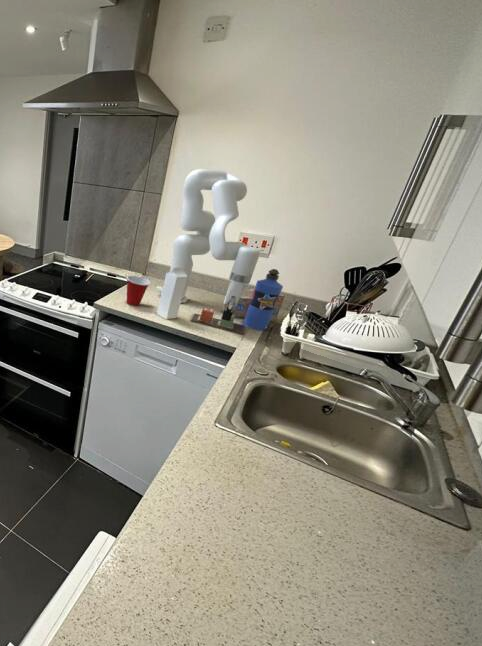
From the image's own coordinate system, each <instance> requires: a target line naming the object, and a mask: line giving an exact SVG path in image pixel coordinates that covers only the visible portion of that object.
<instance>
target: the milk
mask: <svg viewBox="0 0 482 646" xmlns="http://www.w3.org/2000/svg"><path fill="white" fill-rule="evenodd" d="M183 270H184V267H175V268H173V271H171V272H170V271H169V272H166V274H165V278H164V282H163V286H162V288H163V290H162V292H161V293H162V294H161V293H160V295H161V296H160V298H159V302H158V307H157V311H156V315H158V316H159V317H162V318H163V319H165V320H170V319H177V318H178V314H179V310H180V306H181V304H182V303H181V299H182V295H183V292H184V288H185V284H186V280H187V275H186V274H185V272H184V271H183Z"/></svg>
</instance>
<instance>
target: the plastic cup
mask: <svg viewBox="0 0 482 646" xmlns="http://www.w3.org/2000/svg"><path fill="white" fill-rule="evenodd" d="M151 284H152V282H151V281H150V280H149V279H147V278H145V277H142V276H139V275H127V276H126V304H128V305H129V306H132V307H133V306H134V307H135V306H136V307H138V306H140V304H141V302H142V299H143V298H144V295H145V293H146V290H147V289H148V287H149V286H150V285H151Z"/></svg>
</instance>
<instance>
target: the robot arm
mask: <svg viewBox="0 0 482 646" xmlns="http://www.w3.org/2000/svg"><path fill="white" fill-rule="evenodd" d="M247 187H248V186H247V185H246V183H245V182H244V181H243V180H242V179H240V178H238V177H237V176H235V175H233V174H231V172H228V171H226V170H223V169H222V170H221V169H211V168H197V169H195V170H193V171H191V172H190V173H189V174H188V175H187V176H186V178H185V180H184V183H183V201H182V208H181V216H180V228H181V229H182V230H183V231H185V232H196V233H189V234H187V233H186V234H181V235H178V236H177V237H176V238H175V240H174V242H173V251H172V252H173V253H172V260H171V263H170V269H169V272H171V271H173V268H175V267H184V270H183V271H184V272H185V274H186V275H187V280H186V284H185V288H184V292H183V295H182V299H181V303H180V304H183V303H187V302H188V297H187V296H186V294H187V290H188V285H189V282H190V278H191V275H192V271H193V267H194V261H193V258H192V256H203V255H206V254H208V253H209V252H210V253H211V255H212V257H213V258H214V259H215V260H217V261H234V263H233V264H232V265H233V266H232V268H231V271H230V273H229V277H228V280H229V281H230V282H229V284H228V288H227V290H226V294H225V296H224V299H223V305H224V304H226V306H225V309H224V312H223V313H222V315H221V319H223V320H227V321H230V319H231V316H232V314H233V309H234V307H236V306H237V304H238V301H239V299H240V297H241V294H243V292H244V289H245V287H246V285H249V284H250V282H251V280H252V277H253V275H254V272H255V269H256V266H257V263H258V261H259V258H260V254H261V250H260V249H258V248H257V247H253V246H249V245H248V244H246V243H244V242H242V241H227V240H226V233H225V232H226V228H227V226H228V224H230V223H231V222H233V221H235V220H236V219H238V218H239V216H240V214H239V213H240V212H239V206H238V202H241V201H242V200H243V199H245V197H246V195H247V193H248V188H247ZM203 190H204V191H211V196H212V197H211V198H212V203H213V204H212V206H213V210H214V213H213V212H212V211H210V210H204V202H205V201H204V196H203V193H202V191H203ZM162 290H163V287H161V286H158V285H157V286H156V287H155V291H157V292H160V297H161V294H162ZM233 304H234V305H233Z"/></svg>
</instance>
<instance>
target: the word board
mask: <svg viewBox="0 0 482 646" xmlns="http://www.w3.org/2000/svg"><path fill="white" fill-rule="evenodd" d="M200 316H201V314H199V313H194V314H193V316H192V318H191V320H190V322H192V323H195V324H200V325H204V326H207V327H211V328H216V329H219V330H223V331H226V332H230V333H231V332H232V333H235V334H239V335H244V333H245V325H244V324H240V323H236V322H233V325H232V328H230V327H226V326H222V325H220V322H221V318H217V317H213V318H212V321H211V323H210V322H206V321H202V320H200Z"/></svg>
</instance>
